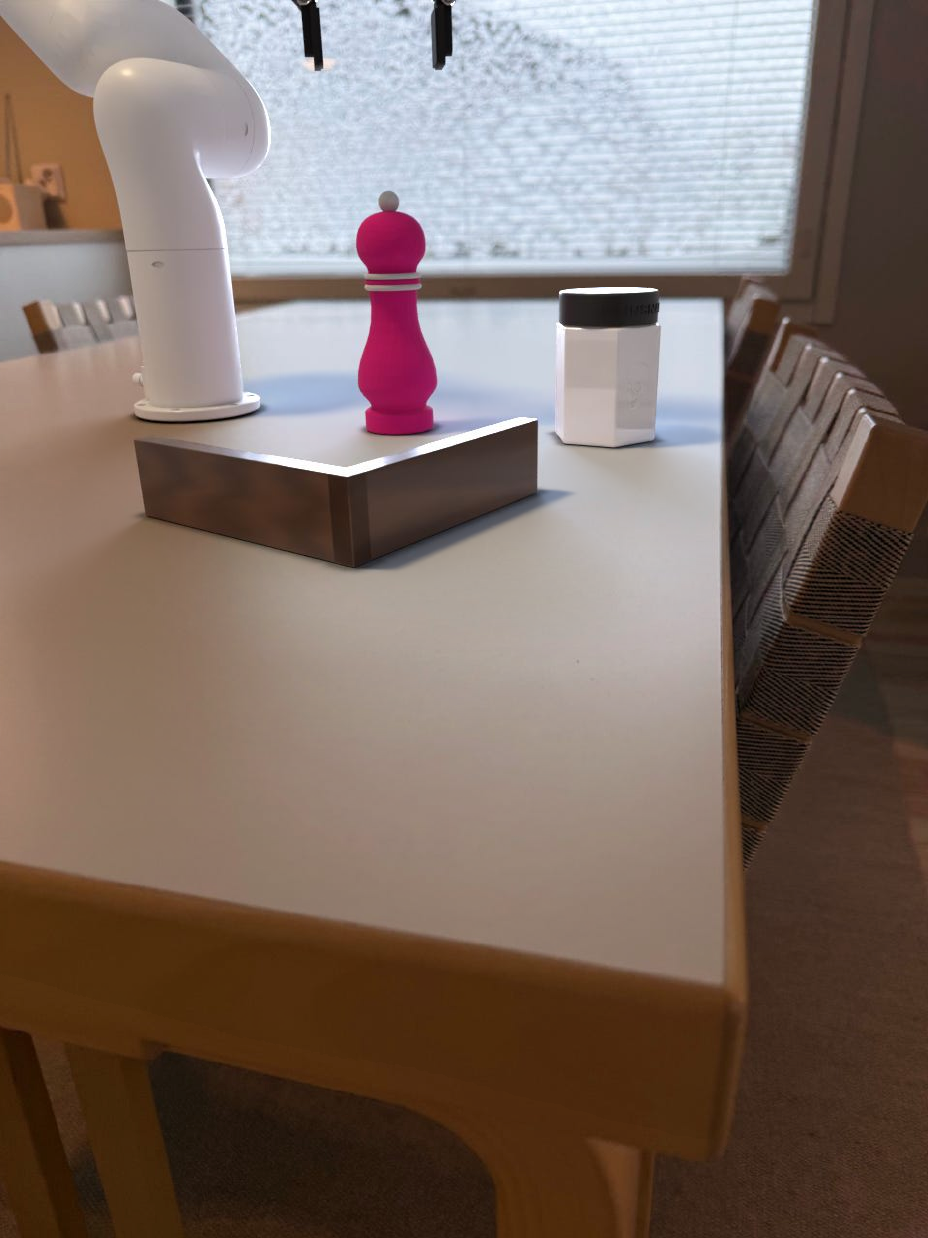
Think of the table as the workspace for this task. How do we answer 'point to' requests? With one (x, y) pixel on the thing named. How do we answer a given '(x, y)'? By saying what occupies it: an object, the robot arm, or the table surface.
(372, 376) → the pepper mill
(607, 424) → the jar
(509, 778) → the table surface
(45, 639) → the table surface
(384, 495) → the corner stop
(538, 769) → the table surface
